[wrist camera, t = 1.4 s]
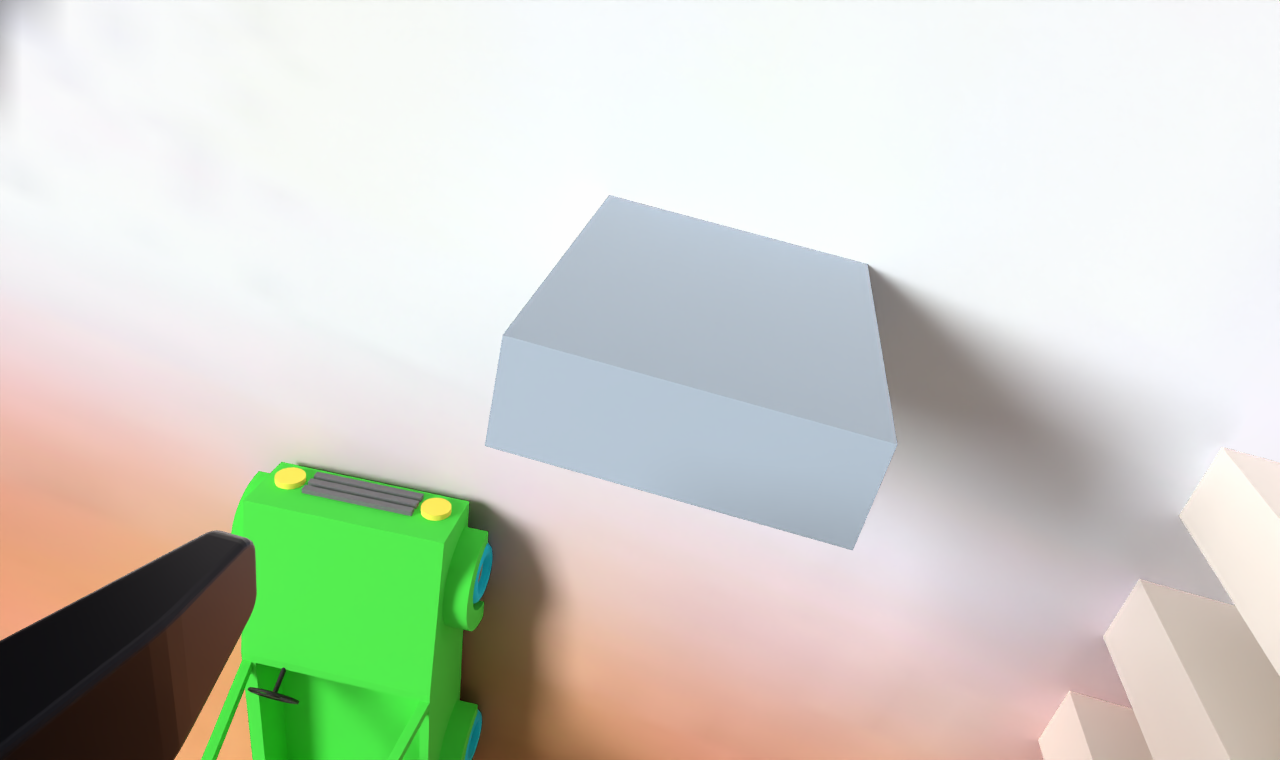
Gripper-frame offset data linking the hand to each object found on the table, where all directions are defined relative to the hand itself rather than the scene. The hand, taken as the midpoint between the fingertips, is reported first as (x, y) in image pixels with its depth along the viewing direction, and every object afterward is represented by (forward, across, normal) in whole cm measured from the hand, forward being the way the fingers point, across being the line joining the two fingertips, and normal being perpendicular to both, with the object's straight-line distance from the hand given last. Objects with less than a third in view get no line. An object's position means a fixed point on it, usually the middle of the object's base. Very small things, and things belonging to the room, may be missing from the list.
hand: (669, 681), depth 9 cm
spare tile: (+13, 0, +1) cm, 13 cm away
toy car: (+12, +7, +15) cm, 21 cm away
